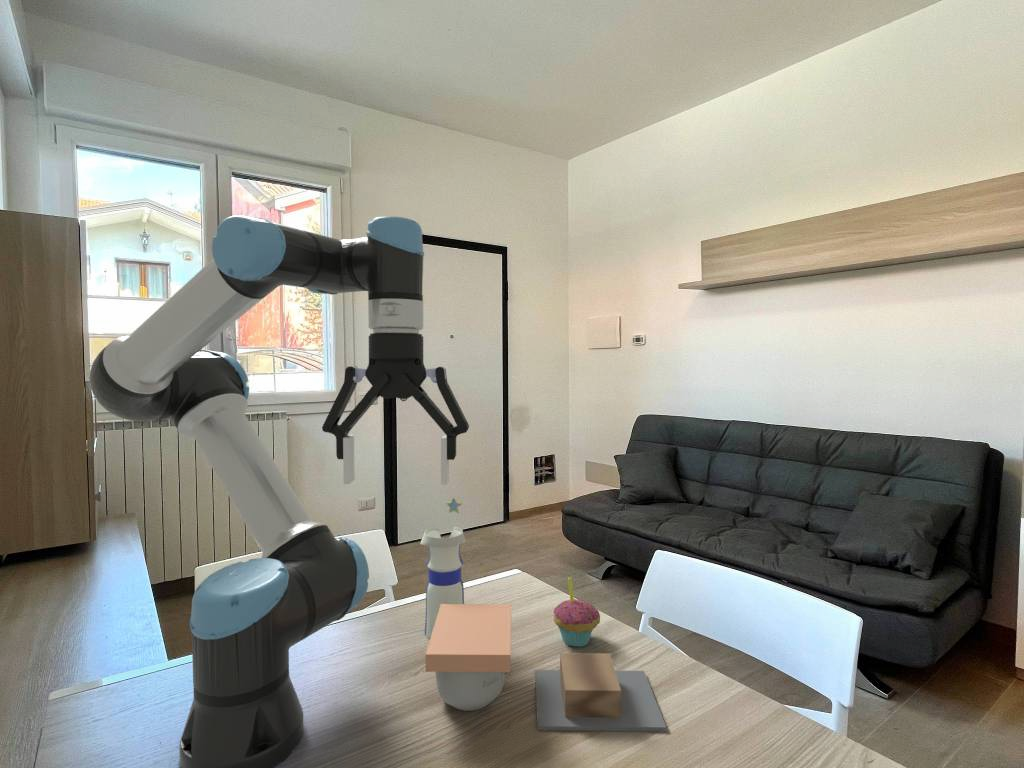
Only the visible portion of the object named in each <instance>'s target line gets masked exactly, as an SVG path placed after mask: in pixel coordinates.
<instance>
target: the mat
mask: <svg viewBox="0 0 1024 768" xmlns="http://www.w3.org/2000/svg"><path fill="white" fill-rule="evenodd" d="M615 672H616V675H617V679H618V682H619V685H620V689H621V718H601V717H565V712H564V704H563V696H562V688H561V681H560V669H556V670H555V669H534V679H535V681H534V682H535V701H536V720H537V723H536V724H537V731H568V732H569V731H572V732H574V731H575V732H577V731H578V732H579V731H580V732H582V731H583V732H584V731H586V732H587V731H588V732H593V731H594V732H611V731H612V732H667V725H666V723H665V720H664V717H663V716H662V713H661V711H660V707H659V705H658V703H657V700H656V698H655V696H654V692H653V690H652V687H651V684H650V682H649V680H648V678H647V675H646V672H645V670H615Z"/></svg>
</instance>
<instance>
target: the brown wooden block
mask: <svg viewBox="0 0 1024 768" xmlns="http://www.w3.org/2000/svg"><path fill="white" fill-rule="evenodd" d="M559 670H560V681H561V688H562V696H563V704H564V712H565V717H601V718H621V689H620V685H619V682H618V679H617V675H616V672H615V671H616V670H615V667H614V663H613V660H612V656H611V653H608V652H607V653H603V652H602V653H600V652H599V653H598V652H594V653H593V652H591V653H590V652H586V653H585V652H583V653H582V652H581V653H580V652H578V653H577V652H576V653H575V652H572V653H571V652H560V654H559Z"/></svg>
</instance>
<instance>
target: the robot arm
mask: <svg viewBox="0 0 1024 768" xmlns="http://www.w3.org/2000/svg"><path fill="white" fill-rule="evenodd" d="M216 230H217V231H216V235H215V234H214V235H213V237H212V241H211V253H212V254H211V255H212V259H211V260H210V261H209V262H208V263H207V264H206V265H205V266H203V267H202V268H201V269H199V271H198V272H197V273H196V274H195V275H193V277H191V279H189V280H188V281H187V282H186V283H185V284H184V285H183V286H182V287H180V289H179V290H177V291H176V292H175V293H174V294H173V295H172V296H171V297H170V298H168V300H167V301H165V302H164V303H162V305H161V306H160V307H159V308H157V310H156V311H154V312H153V313H152V314H151V315H150V316H149V317H148V318H146V320H144V322H142V324H140V325H139V326H138V327H137V328H136V329H135V330H134V331H132V333H131V334H130V335H125V336H120V337H117V338H115V339H113V340H112V341H111V342H108V344H107V345H106V346H105V347H104V348H103V349H102V350H101V351H100V352H99V353H98V354H97V356H96V357H95V358H94V360H93V362H92V364H91V367H90V369H89V378H88V379H89V385H90V386H89V387H90V390H91V391H92V395H93V397H94V398H95V400H96V402H98V404H99V405H100V406H101V407H102V408H103V409H105V410H106V411H108V412H109V413H111V414H112V415H114V416H116V417H119V418H121V419H124V420H127V421H134V422H142V423H144V422H153V421H154V422H155V421H156V422H157V421H164V420H165V421H166V420H168V421H169V420H170V421H171V422H173V425H174V426H175V428H176V429H177V431H178V433H179V434H180V435H181V436H182V437H184V438H186V439H194V440H195V442H196V443H197V445H198V446H199V448H200V450H201V452H202V453H203V455H204V457H205V458H206V460H207V461H208V463H209V465H210V467H211V468H212V470H213V472H214V473H215V475H216V477H217V478H218V480H219V482H220V483H221V486H222V487H223V488H224V490H225V492H226V493H227V495H228V497H229V499H230V500H231V501H232V504H233V505H234V507H235V509H236V510H237V512H238V513H239V516H240V517H241V520H243V523H244V524H245V526H246V527H247V529H248V530H249V532H250V534H251V536H252V537H253V539H254V541H255V542H256V544H257V545H258V547H259V549H260V551H261V553H262V556H261V557H260V558H259V557H258V558H252V559H248V560H247V561H244V562H243V561H238V562H235V563H231V564H229V565H226V566H224V567H222V568H220V569H218V570H216V571H214V572H213V573H211V574H210V575H208V576H207V577H206V578H204V579H203V580H202V581H201V582H200V584H198V585H197V586H196V588H195V590H194V594H193V596H192V599H191V611H190V612H191V613H190V618H189V628H190V632H191V648H192V649H191V651H192V655H191V656H192V657H191V658H192V678H193V679H192V682H193V683H192V684H193V699H192V703H191V705H190V706H191V707H190V710H189V712H188V715H187V719H186V722H185V726H184V728H183V731H182V735H181V736H180V737H181V738H180V740H179V766H180V768H273V767H275V766H276V765H278V764H279V763H280V762H282V761H283V760H285V759H286V758H287V757H288V756H289V755H290V754H291V753H293V751H294V750H295V749H296V747H297V746H298V745H299V743H300V742H301V739H302V738H303V735H304V729H305V728H304V722H305V721H304V720H305V719H304V710H303V706H302V704H301V702H300V700H299V697H298V694H297V692H296V689H295V687H294V683H293V682H292V680H291V677H290V648H292V647H293V646H295V645H297V644H298V643H299V642H301V641H303V640H305V639H306V638H308V637H310V636H311V635H314V634H315V633H317V632H318V631H320V630H322V629H323V628H325V627H327V626H328V625H330V624H332V623H333V622H336V621H337V622H338V621H339V620H342V619H343V618H344V617H345V616H346V615H347V614H348V613H350V612H351V611H353V610H355V609H356V608H357V607H358V606H359V605H360V604H361V603H362V601H363V600H364V598H365V596H366V594H367V591H368V588H369V582H368V580H369V578H370V570H369V569H370V568H369V564H368V560H367V558H366V555H365V553H364V552H363V548H361V547H360V545H359V544H358V543H357V542H356V541H354V540H352V539H348V538H347V537H335V536H334V533H333V532H332V531H331V529H330V528H329V526H328V525H327V524H326V523H323V522H316V521H313V520H312V518H311V516H310V514H309V513H308V511H306V509H305V507H304V505H303V504H302V502H301V501H300V500H299V498H298V496H297V494H296V493H295V491H294V489H293V488H292V487H291V485H290V484H289V482H288V480H287V479H286V477H285V476H284V474H283V472H282V471H281V469H280V468H279V466H278V464H277V463H276V461H275V460H274V458H273V457H272V455H271V453H270V452H269V451H268V448H267V447H266V445H265V444H264V443H263V441H262V440H261V438H260V436H259V435H258V433H257V431H256V429H254V427H253V425H252V424H251V422H250V420H249V419H248V417H247V416H246V414H245V413H246V411H247V409H248V405H249V404H248V399H249V394H250V386H249V385H247V382H249V378H248V375H247V371H245V369H244V367H243V366H242V363H240V362H239V361H238V360H237V359H236V358H235V357H233V356H232V355H230V354H228V353H225V352H222V351H221V352H220V351H212V350H208V349H203V348H205V347H206V346H207V345H209V343H211V342H212V341H214V340H215V339H216V338H217V337H218V336H219V335H221V334H222V333H223V332H224V331H226V329H228V328H229V327H230V326H231V325H233V324H234V323H235V322H237V321H238V320H239V319H240V318H241V317H242V316H244V315H245V314H246V313H247V312H248V311H250V310H251V309H252V308H253V307H255V306H256V305H257V304H259V302H261V301H262V300H264V298H266V297H267V296H268V295H269V294H271V293H272V292H273V291H275V290H276V289H277V288H279V287H280V286H289V287H290V286H291V287H297V288H298V287H299V288H305V289H307V290H308V291H310V292H311V293H313V294H314V293H315V294H324V295H325V294H326V295H337V294H343V293H355V292H367V296H368V297H367V298H368V301H367V302H368V303H367V304H368V305H367V307H368V311H367V312H368V315H367V316H368V328H369V329H370V330H372V332H371V333H370V334H369V335H368V364H367V367H366V368H363V367H358V366H355V365H352V366H351V365H350V366H347V367H346V368H345V371H344V380H343V384H342V385H341V388H340V389H339V392H338V394H337V396H336V398H335V400H334V402H333V404H332V406H331V408H330V410H329V412H328V414H327V416H326V418H325V420H324V423H323V424H322V427H321V429H322V432H324V433H328V434H332V435H333V436H335V443H336V444H335V445H336V446H335V447H336V448H335V450H336V453H335V454H336V458H337V460H343V462H342V463H343V464H342V466H343V485H350V484H352V482H353V481H355V434H350V431H351V430H352V429H353V428H354V427H355V426H356V424H357V423H358V422H359V421H360V419H361V418H362V417H363V416H364V415H365V414H366V412H368V410H369V409H370V407H371V406H372V405H373V404H374V403H375V401H377V400H378V399H379V398H380V397H381V398H383V400H384V399H385V400H388V399H389V400H391V399H393V398H397V399H400V400H402V399H403V400H407V399H410V398H413V399H414V400H415V402H417V403H419V404H420V407H422V408H423V410H424V411H425V412H426V413H427V414H428V415H429V416H430V418H431V419H432V420H433V421H434V422H435V423H436V425H437V426H438V427H439V428H440V429H441V430H442V432H443V433H444V435H442V436H441V438H440V485H441V486H442V485H446V486H447V485H448V482H449V480H450V479H449V478H450V477H449V475H450V469H449V468H450V464H449V463H450V460H452V461H453V460H455V458H456V456H457V437H458V436H459V435H462V434H465V433H467V432H468V431H469V428H470V424H469V422H468V420H467V419H466V417H465V415H464V412H463V411H462V409H461V407H460V405H459V403H458V400H457V398H456V397H455V395H454V392H453V391H452V389H451V387H450V385H449V382H448V377H447V376H448V375H447V369H446V368H445V367H444V366H437V367H435V368H426V367H425V363H424V336H423V334H422V333H420V331H421V330H423V329H424V298H423V297H424V295H423V277H424V256H425V252H424V245H423V229H422V226H421V225H420V224H419V222H417V221H415V220H413V219H410V218H408V217H402V216H387V215H386V216H376V217H375V218H372V219H371V220H369V222H368V223H367V231H366V236H365V237H359V238H350V239H349V238H348V239H339V238H335V237H334V238H333V237H331V236H327V235H323V234H318V233H314V232H310V231H307V230H302V229H298V228H296V227H291V226H288V225H284V224H280V223H277V222H273V221H272V220H269V219H265V218H261V217H250V216H245V215H239V214H238V215H232V216H229V217H226V218H224V219H223V220H222V221H221V222H220V223H219V224H218V226H217V228H216ZM364 377H365V378H366V379H367V381H368V382H369V383H370V385H371V387H370V388H369V390H368V391H367V392H366V393H365V394H364V396H363V397H362V399H361V400H360V401H359V402H358V403H357V404H356V406H355V407H354V408H353V409H352V411H351V412H350V413H349V414H348V415H347V417H346V418H345V419H344V420H343V421H342V422H341V424H339V423H340V420H341V418H342V416H343V414H344V412H345V410H346V407H347V406H348V403H350V399H351V397H352V396H353V393H354V391H355V390H356V387H357V385H358V383H360V382H362V380H363V378H364ZM427 377H428V378H430V381H431V382H432V383H434V384H436V385H437V388H438V391H439V392H440V395H441V396H442V399H443V400H444V402H445V404H446V406H447V408H448V410H449V412H450V415H451V416H452V418H453V420H454V422H455V424H456V425H454V424H453V423H452V422H451V421H450V420H449V419H448V418H447V416H446V415H445V414H444V413H443V411H441V409H440V408H439V407H438V406H437V404H436V403H435V402H434V401H433V399H431V398H430V396H429V395H428V393H427V392H426V391H425V390H424V389H423V387H422V386H421V385H422V384H423V383H424V381H425V380H426V379H427Z"/></svg>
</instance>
